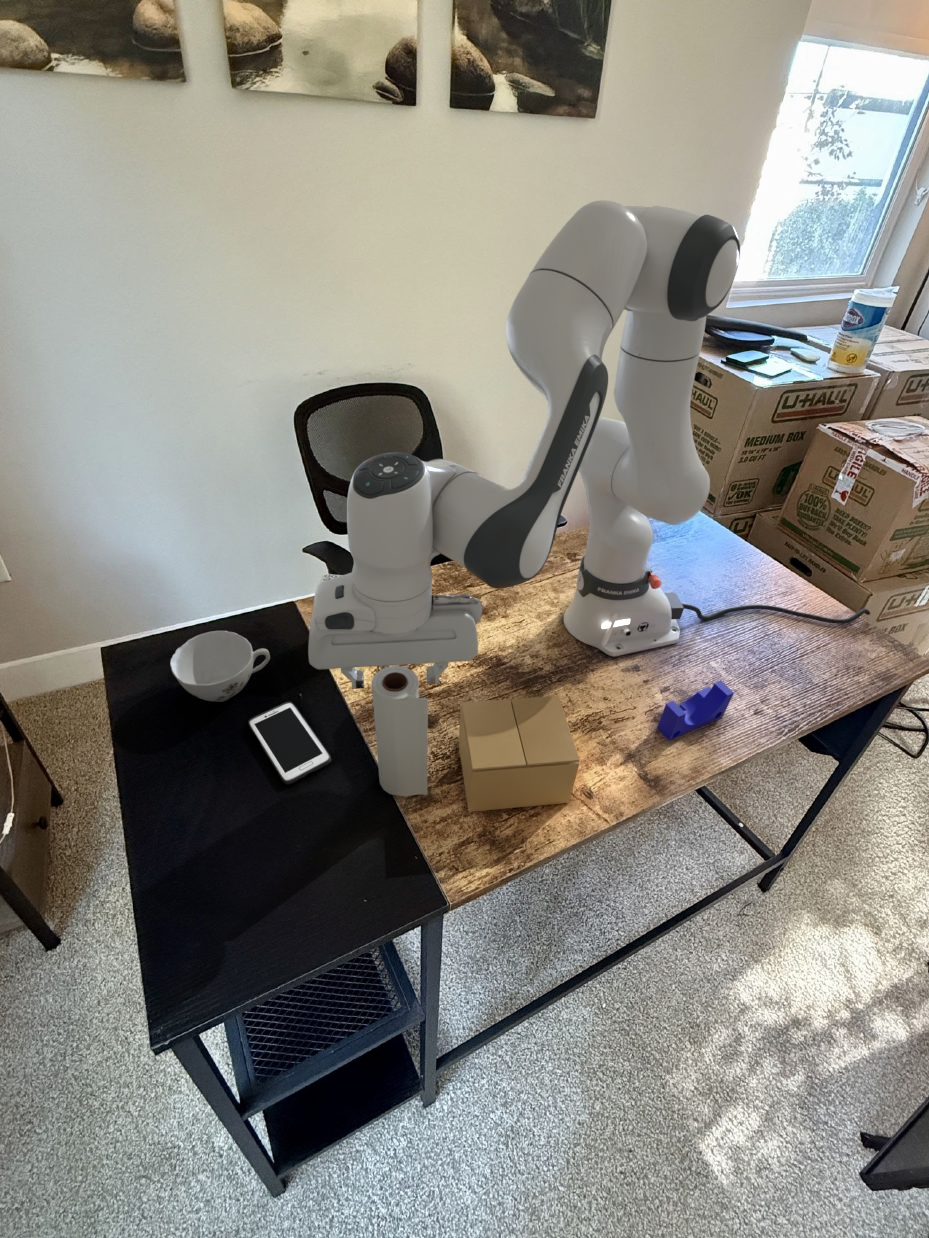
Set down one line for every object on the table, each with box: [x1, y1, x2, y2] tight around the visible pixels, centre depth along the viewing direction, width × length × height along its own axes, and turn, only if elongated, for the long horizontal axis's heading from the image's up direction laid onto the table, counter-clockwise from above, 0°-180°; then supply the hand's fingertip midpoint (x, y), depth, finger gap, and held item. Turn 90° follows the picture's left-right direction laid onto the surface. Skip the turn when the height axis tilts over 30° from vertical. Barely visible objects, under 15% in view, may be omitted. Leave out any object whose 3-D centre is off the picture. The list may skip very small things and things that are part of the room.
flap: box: [510, 695, 581, 766], centre depth 89 cm, size 7×12×1 cm, turn 7°
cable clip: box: [656, 680, 735, 742], centre depth 103 cm, size 12×4×6 cm, turn 118°
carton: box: [458, 698, 580, 813], centre depth 92 cm, size 15×12×10 cm
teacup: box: [169, 630, 271, 703], centre depth 103 cm, size 15×12×8 cm
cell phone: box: [248, 701, 332, 785], centre depth 97 cm, size 8×15×1 cm, turn 37°
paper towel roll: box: [371, 665, 429, 797], centre depth 86 cm, size 7×6×21 cm
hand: (395, 682), depth 79 cm, fingers open, 8 cm apart
